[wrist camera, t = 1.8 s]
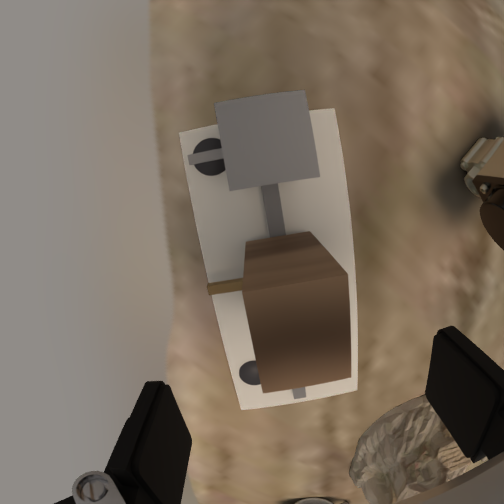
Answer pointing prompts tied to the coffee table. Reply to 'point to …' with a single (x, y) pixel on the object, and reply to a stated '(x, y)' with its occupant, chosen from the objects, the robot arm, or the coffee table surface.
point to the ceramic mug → (315, 501)
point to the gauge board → (268, 212)
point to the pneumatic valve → (488, 183)
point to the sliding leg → (294, 311)
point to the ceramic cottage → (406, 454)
